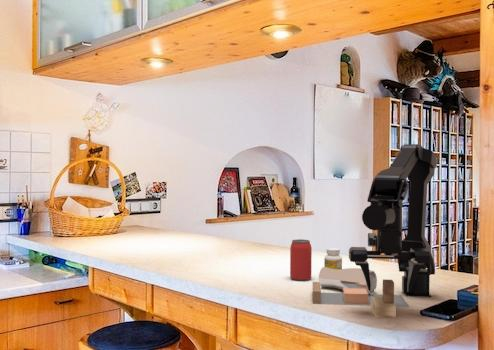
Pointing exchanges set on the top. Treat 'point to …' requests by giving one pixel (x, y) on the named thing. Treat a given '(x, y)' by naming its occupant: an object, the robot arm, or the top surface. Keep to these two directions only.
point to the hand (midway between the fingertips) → (388, 290)
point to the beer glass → (346, 279)
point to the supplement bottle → (333, 259)
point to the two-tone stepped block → (385, 301)
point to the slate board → (338, 300)
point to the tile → (355, 295)
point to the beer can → (300, 260)
